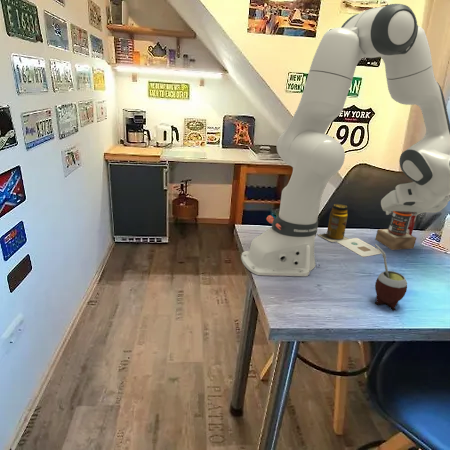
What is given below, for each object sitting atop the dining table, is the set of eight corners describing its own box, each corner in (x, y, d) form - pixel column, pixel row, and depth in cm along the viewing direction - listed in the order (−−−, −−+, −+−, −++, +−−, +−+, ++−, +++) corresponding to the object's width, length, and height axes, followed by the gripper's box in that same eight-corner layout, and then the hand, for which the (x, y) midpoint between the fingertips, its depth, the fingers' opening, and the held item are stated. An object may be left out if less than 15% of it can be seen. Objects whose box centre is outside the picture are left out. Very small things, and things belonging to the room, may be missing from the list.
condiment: (348, 239, 127) (354, 207, 123) (331, 242, 123) (337, 209, 119) (334, 232, 133) (339, 202, 129) (317, 235, 129) (321, 204, 125)
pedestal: (392, 249, 121) (394, 238, 119) (375, 239, 129) (377, 228, 128) (413, 248, 123) (416, 237, 122) (395, 238, 131) (398, 227, 130)
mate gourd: (407, 310, 86) (423, 255, 81) (379, 313, 85) (393, 257, 79) (388, 294, 93) (402, 242, 88) (361, 296, 91) (374, 243, 86)
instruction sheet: (362, 257, 114) (363, 256, 114) (335, 241, 125) (335, 240, 125) (385, 253, 118) (385, 252, 118) (356, 238, 129) (356, 237, 129)
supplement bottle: (388, 234, 123) (396, 203, 119) (387, 228, 128) (394, 199, 124) (407, 237, 121) (415, 206, 117) (405, 231, 126) (412, 201, 122)
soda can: (408, 240, 130) (417, 209, 126) (389, 235, 134) (397, 205, 130) (412, 235, 136) (420, 205, 131) (393, 230, 139) (401, 201, 135)
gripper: (453, 186, 112) (426, 206, 125) (392, 184, 110) (371, 204, 123) (458, 204, 110) (430, 222, 122) (397, 202, 108) (374, 220, 120)
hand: (400, 213), depth 123 cm, fingers open, 8 cm apart
